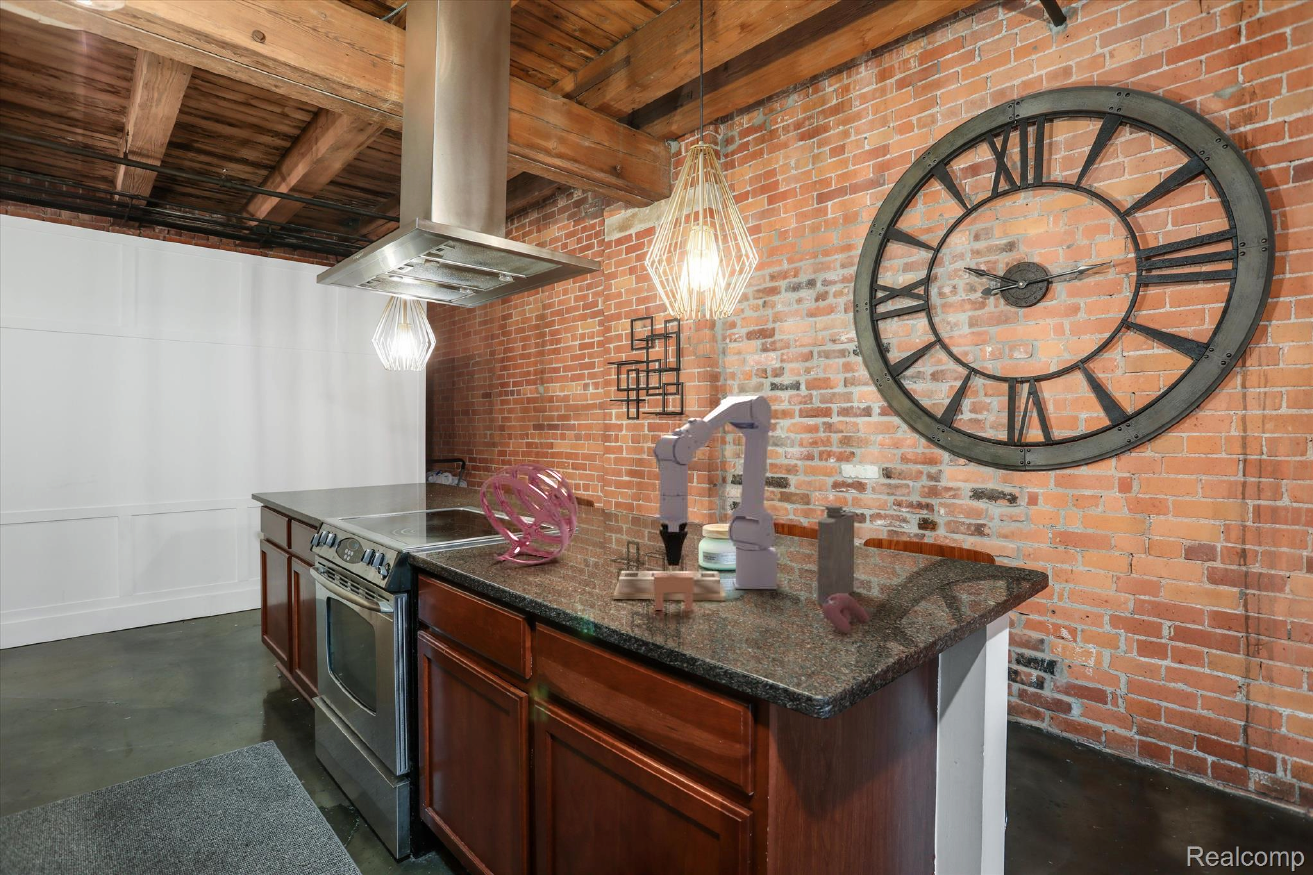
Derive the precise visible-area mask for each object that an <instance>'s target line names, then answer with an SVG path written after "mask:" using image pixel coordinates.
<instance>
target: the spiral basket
mask: <svg viewBox="0 0 1313 875" xmlns="http://www.w3.org/2000/svg"><path fill="white" fill-rule="evenodd" d="M530 467H532V468H530ZM507 471H510V472H509V475H507V474H506V475H505V474H503V473H505V472H507ZM541 472H545V474H546V473H547V474H548V475H549V476H551V477H552V478H553V479H555V480H556V481H557V482H558V483H559V485H561V486H562V488H564V490H566V492H567V494H566V492H565V491H564V490H563V489H561V488H560V487H559V485H556V483H555V482H553V481H552V480H551V479H550V478H548V477H547V476H545V475H544V474H542V473H541ZM520 473H523V474H526V475H527V476H528V482H529V483H528V482H526V481H525V480H522V479H520V478H519V474H520ZM539 482H541V483H542V484H543V485H545V486H546V487H547V488H548V489H549V490H550V491H551V492H550V493H548V492H546V491H545V490H544V489H543V487H542V485H541V484H540V483H539ZM490 484H491V486H492V492H493V496H494V498H495V500H496V502H497V504H498V506H499V507H500V509H501V510H502V512H503V513H504V514H505V515H506V517H507V518H508V519H509V520H510V521H511V522H512V523H513V524H514V525H516V526H517V528H519V529H521V531H522V532H523V535H522V536H521V537H517V536H516V535H514V534H513V533H512V532H510V531H509V530H508V529H507V528H506V527H505V525H503V523H501V521H500V520H499V519H498V518H497V516H496V515H495V514H494V511H493V509H492V508H491V507H490V504H489V501H488V499H487V491H486V490H487V486H488V485H490ZM501 484H506V485H508V486H510V487H511V490H512V492H513V494H514V496H515V498H516V499H517V500H518V502H519V503H520V504H521V506H522V507H523V508H524V509H526V510H527V512H528V513H530V514H531V515H533V517H534V521H533V522H532V523H528V521H525V519H523V518H522V517H521V516H520V515H519V514H518V513H517V512H516V511H515V510H514V509H513V507H511V504H509V502H508V500H507V499H506V496H505V495H504V492H503V489H502V485H501ZM526 494H527V495H528V496H530V497H531V498H532V499H534V500H535V501H536V502H537V503H538V504H539V505H541V507H542V508H539V507H538V506H537V505H535V503H533V502H532V500H531V499H529V497H528V496H527V495H526ZM555 496H556V497H557V498H556V497H555ZM479 502H480V506H481V509H482V511H483V513H484V515H485V517H486V519H487V520H488V521H489V523H490V524H491V526H492V527H493V528H494V529H495V530H496V531H497V532H498V533H499V534H500V535H501V536H502V537H503V538H504V539H505V540H506V541H508V542H509V543H510V544H511V546H512V547H511V548H510V549H509V550H508V551H506V552H505V553H504V554H503V555H501V556H500V555H499V556H498V555H497V554H496V553H495V554H493V558H494V559H495V560H497V561H499V562H504V561H503V560H505V561H508V562H510V563H512V564H516V565H520V566H536V565H535V564H538V565H541V564H540V563H542V564H545V563H547V562H550V561H552V560H554V559H555V558H556V557H558V556H559V555H560V554H561V553H562V552H563V551H564V550H565V549H566V548H567V546H569V543H570V541H571V540H572V538H573V537H574V534H575V532H576V530H577V521H578V520H577V518H578V514H579V508H578V502H577V498H576V496H575V493H574V491H573V490H572V488H571V487H570V485H569V483H568V481H567V480H566V479H565V478H564V477H563V476H562V475H561V474H560V473H558V472H557V471H555V470H554V469H552V468H549V467H546V466H544V465H541V464H538V463H533V462H523V463H519V464H516V465H509V466H505V467H503V468H501V469H499V470H498V471H497V472H496V473H495V474H494V475H493V476H491V477H489V478H488V479H487V480H486V481H484V483H483V484H482V486H481V488H480V491H479ZM573 506H574V507H573ZM559 509H566V510H567V512H568V516H566V517H563V515H562V514H561V512H560V511H559ZM544 523H545V524H549V525H551V526H554V527H557V529H558V531H559V533H560V534H559V535H554V534H550V533H547V532H543V531H542V530H541V528H540V527H541V526H542V524H544ZM534 539H535V540H539V541H541V542H544V543H548V544H553V545H561V546H560V547H559V548H557V549H556V550H545V549H544V550H543V549H541V548H537V547H535V546H532V545H531V544H530V542H531V541H532V540H534ZM522 552H524V553H527V554H529V555H531V554H532V555H531V556H534V555H537V556H536V557H538V556H544V557H548V558H544V557H543V559H539V560H533V561H529V560H527V561H526V560H519V559H516V558H514V557H516V555H518V554H519V553H522ZM512 556H514V557H512ZM510 557H512V558H510Z"/></svg>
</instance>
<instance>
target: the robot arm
mask: <svg viewBox="0 0 1313 875" xmlns="http://www.w3.org/2000/svg"><path fill="white" fill-rule="evenodd" d="M719 404H720V405H718V406H717V407H716V408H715V409H714V410H712V411H711V412H710V413H708V414H707V415H706V416H705V417H704V418H703V419H702V418H700V417H699V418H698V417H697V418H696V417H691V418H689V419H687V423H686V424H685V425H683V426H682V427H680V428H676V429H674V430H673V433H672V434H671V435H662V436H661V437H660V438H658V440H657V441H656V443H655V445H654V448H653V449H652V454H653V456H654V459H655V461H656V466H657V470H658V471H659V514H657V515H653V521H660V527H661V528H660V529H659V531H658V532H659V535H660V538H661V539H662V542H663V545H664V548H665V549H664V550H665V557H666V561H667V565H668V566H670V567H671V566H672V567H673V566H675V567H677V566H680V562H681V557H682V551H683V548H684V547H683V546H684V542H685V540H686V538H687V536H688V534H689V532H688V530H686V528H687V526H688V521H689V520H690V516H689V514H688V513H689V512H688V511H689V510H688V509H689V502H688V501H689V500H688V498H689V497H688V496H689V495H688V494H689V492H688V491H689V488H688V487H689V484H688V481H689V476H688V475H689V470H688V469H689V466H688V465H689V464H690V463H691V462H692V460H693V459H694V456H695V453H696V452H697V451H698V450H700V449H701V448H702V447H703V446H705V445H707V443H709V442H710V441H711V439H712V438H713V433H714V432H716V431H718V430H719V429H721V428H722V427H724V426H725V425H728V424H729V425H730V426H731V427H732V428H734V429H735V430H736V431H737V432H739V433H740V434H742V435H743V437H744V452H743V467H742V478H741V480H742V481H741V482H742V483H741V494H740V495H741V496H740V504H739V505H738V506H737V507H736V508H735V509H733V510H732V511H731V517H730V518H731V519H730V522H729V525H728V528H727V534H728V538H729V540H730V541H731V542H732V544H733V545H732V546H733V547H735V577H733V578H732V582H733V585H734V588H735V589H738V590H777V589H778V556H777V549H776V548H775V547H771V545H772V544H773V543H774V540H775V536H776V529H775V526H774V515H773V514H772V513H771V512H770V510H768V509H767V508H766V507H765V493H766V492H765V491H766V478H767V463H768V461H767V460H768V448H769V446H768V445H769V432H770V431H771V422H772V420H771V419H772V405H771V403H770V402H769V401H768V399H767V398H766V397H765V396H764V395H757V396H756V395H755V396H754V395H753V396H751V395H750V396H727V397H726V398H725V399H723V400H721V401H720V403H719Z"/></svg>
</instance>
